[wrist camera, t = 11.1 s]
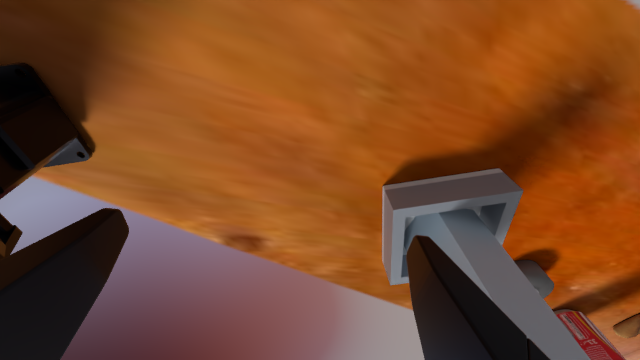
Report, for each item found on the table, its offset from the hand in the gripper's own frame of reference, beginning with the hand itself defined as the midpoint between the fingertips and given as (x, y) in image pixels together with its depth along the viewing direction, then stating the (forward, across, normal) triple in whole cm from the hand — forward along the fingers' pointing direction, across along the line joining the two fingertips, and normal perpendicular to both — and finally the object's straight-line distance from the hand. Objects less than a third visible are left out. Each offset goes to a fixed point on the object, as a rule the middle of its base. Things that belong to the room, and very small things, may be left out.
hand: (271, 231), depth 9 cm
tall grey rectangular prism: (+13, -13, +11) cm, 22 cm away
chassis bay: (+14, -13, +11) cm, 22 cm away
